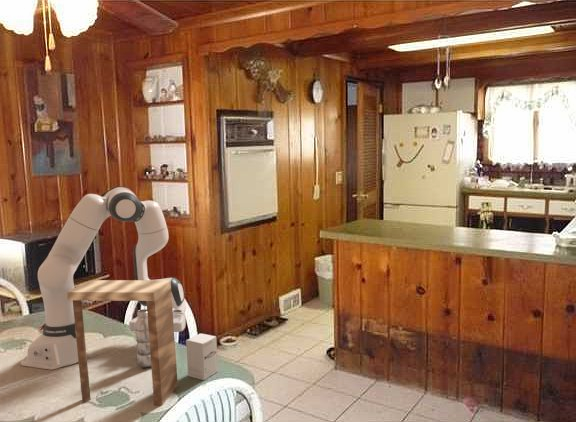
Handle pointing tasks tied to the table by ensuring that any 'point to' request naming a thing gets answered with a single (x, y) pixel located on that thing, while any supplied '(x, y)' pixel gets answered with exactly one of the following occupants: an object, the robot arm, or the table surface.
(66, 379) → the table surface
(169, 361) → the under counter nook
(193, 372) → the supplement box
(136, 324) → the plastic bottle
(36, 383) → the table surface
